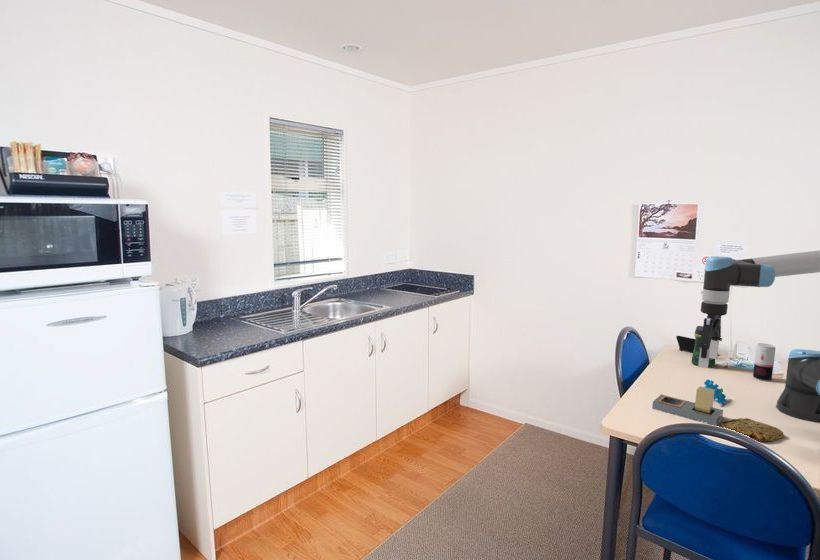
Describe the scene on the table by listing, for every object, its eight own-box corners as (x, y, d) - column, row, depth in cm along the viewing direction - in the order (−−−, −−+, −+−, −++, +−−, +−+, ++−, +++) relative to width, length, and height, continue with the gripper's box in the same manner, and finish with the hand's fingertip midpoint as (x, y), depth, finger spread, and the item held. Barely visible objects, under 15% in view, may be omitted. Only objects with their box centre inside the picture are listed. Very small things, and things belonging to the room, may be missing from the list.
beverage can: (775, 380, 201) (779, 346, 199) (765, 382, 199) (769, 348, 197) (759, 375, 207) (763, 342, 205) (749, 377, 205) (753, 344, 203)
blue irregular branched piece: (719, 403, 171) (702, 379, 176) (705, 410, 175) (689, 386, 180) (733, 401, 177) (716, 377, 182) (720, 408, 181) (703, 384, 186)
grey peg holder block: (722, 416, 163) (723, 409, 163) (716, 425, 156) (717, 417, 156) (660, 400, 177) (661, 393, 177) (652, 408, 170) (652, 401, 170)
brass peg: (711, 416, 163) (714, 389, 162) (708, 420, 160) (711, 393, 159) (697, 412, 166) (699, 386, 165) (693, 416, 163) (696, 389, 162)
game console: (719, 355, 237) (721, 338, 236) (705, 359, 230) (707, 341, 229) (687, 347, 250) (689, 331, 249) (674, 351, 243) (675, 334, 242)
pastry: (794, 449, 142) (795, 440, 142) (727, 438, 148) (728, 429, 148) (774, 425, 158) (775, 417, 157) (714, 417, 164) (715, 409, 164)
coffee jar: (690, 365, 220) (694, 327, 218) (691, 361, 227) (695, 323, 224) (715, 369, 215) (719, 330, 212) (715, 364, 221) (719, 326, 219)
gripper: (710, 296, 169) (704, 352, 172) (692, 305, 151) (685, 368, 154) (735, 299, 164) (728, 357, 167) (719, 308, 146) (712, 373, 149)
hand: (707, 362), depth 161 cm, fingers open, 13 cm apart
